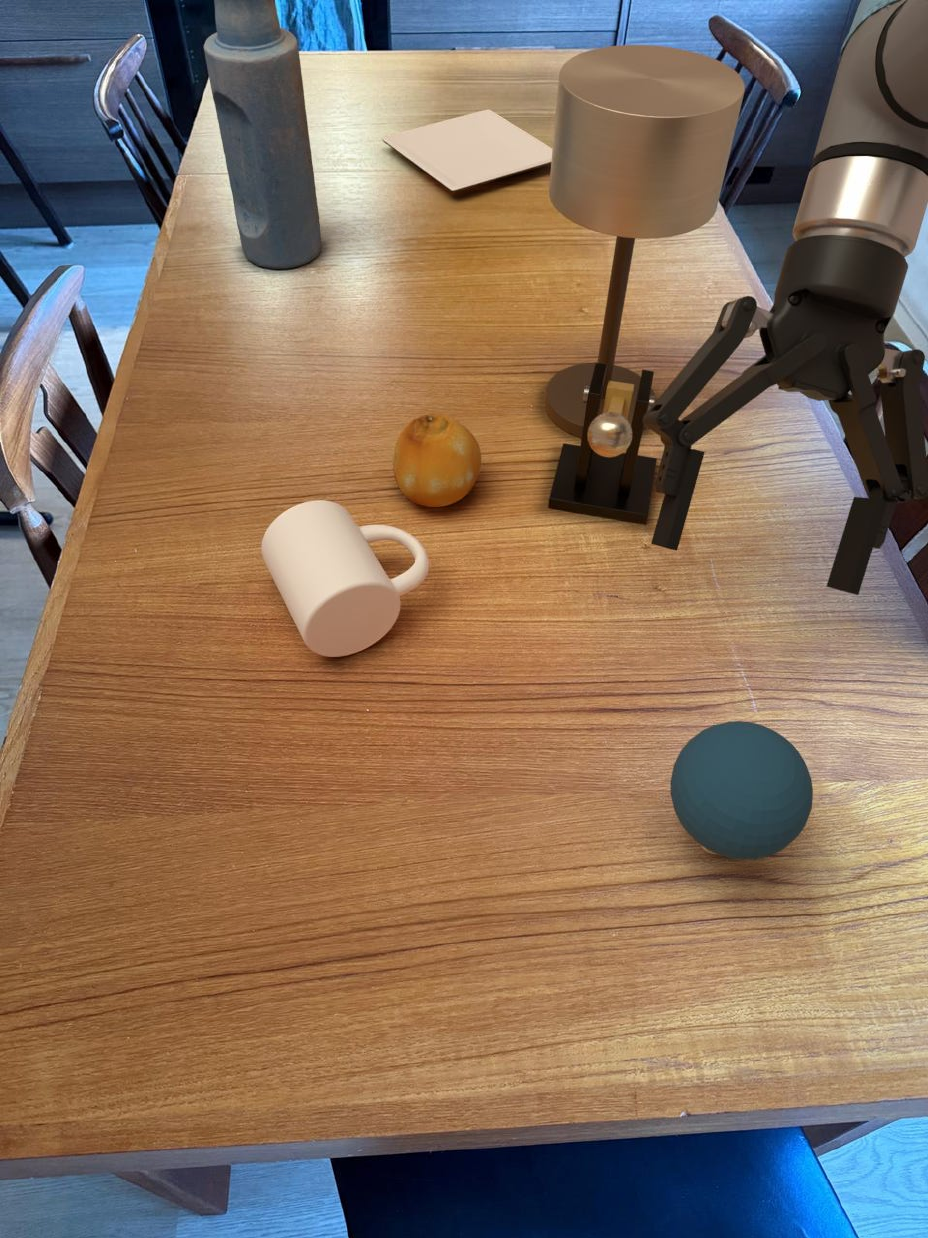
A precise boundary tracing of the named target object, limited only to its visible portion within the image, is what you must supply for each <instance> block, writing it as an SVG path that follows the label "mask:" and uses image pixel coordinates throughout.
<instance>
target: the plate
mask: <svg viewBox="0 0 928 1238" xmlns="http://www.w3.org/2000/svg"><path fill="white" fill-rule="evenodd" d="M381 141H382V142H383V143H384V144H386V145H387V146H388V147H390V148H391V149H393V151H395V152H397V153H398V154H399V155H401V156H402V157H403V158H405V160H407V161H409V162H410V163H412V164H413V165H414V166H416V167H417V168H418V169H420V170H421V171H422V172H423V173H424V174H426V175H428V176H429V177H431V178H432V179H433V180H434V181H436V182H437V183H439V184H440V185H442V186H443V187H444V188H445V189H447V190H448V191H449V192H451V193H458V192H461V191H464V190H468V189H472V188H475V187H479V186H482V185H485V184H488V183H492V182H495V181H498V180H501V179H506V178H508V177H511V176H514V175H518V174H522V173H525V172H529V171H531V170H535V169H538V168H542V167H545V166H548V165H551V161H552V150H553V147H551V146H549V145H547V144H546V143H544V142H542V141H541V140H540V139H537V138H536V137H534V136H533V135H531V134H529V133H528V132H526V131H525V130H523V129H521V128H520V127H519V126H516V125H515V124H513V122H511V121H509V120H507V119H505V118H504V117H502V116H500V115H499V114H497V113H496V112H494V111H492V110H491V109H484V110H480V111H475V112H471V113H468V114H464V115H461V116H457V117H453V118H449V119H445V120H441V121H438V122H433V123H430V124H425V125H422V126H419V127H414V128H411V129H407V130H403V131H400V132H395V133H392V134H388V135H385V136H383V137H381Z"/></svg>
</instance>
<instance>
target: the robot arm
mask: <svg viewBox="0 0 928 1238" xmlns="http://www.w3.org/2000/svg"><path fill="white" fill-rule="evenodd" d="M839 53H840V55H839V58H838V63H837V67H838V68H837V71H836V75H835V78H834V82H833V86H832V89H831V93H830V97H829V101H828V104H827V108H826V112H825V115H824V117H823V118H824V119H823V122H822V125H821V129H820V133H819V137H818V140H817V143H816V147H815V151H814V155H813V157H812V163H811V166H810V169H809V173H808V176H807V178H806V182H805V186H804V190H803V193H802V196H801V200H800V204H799V207H798V209H797V210H798V211H797V215H796V218H795V220H794V225H793V228H792V237H793V239H794V240H795V241H794V242H793V243H792V244H790V245H789V246H788V247H787V248H786V252H785V255H784V259H783V262H782V266H781V269H780V273H779V276H778V280H777V283H776V286H775V290H774V294H773V304H772V306H771V308H770V309H769V311H768V310H766V309H764V308H762V307H760V306H758V303H757V300H756V298H754V296H751V295H745V296H743V297H739V298H735V299H734V300H731V301H728V302H726V303H725V304H724V305H723V306H722V309H721V311H720V314H719V316H718V319H717V321H716V324H715V326H714V329H713V332H712V333H711V334H710V335H709V337H708V338H707V339H706V340H705V342H703V344H702V345H701V346H700V348H699V349H698V350H697V351H695V353H694V355H693V356H692V357H691V358H690V359H689V361H688V362H687V363H686V364H685V365H684V366H683V368H682V369H681V370H680V371H679V372H678V374H677V375H676V376H675V378H673V380H672V381H671V382H670V383H669V385H668V386H667V387H666V388H665V390H664V391H663V392H662V393H661V394H660V395H659V397H658V398H657V399H655V403H654V404H653V405H652V406H651V408H650V409H649V410H648V411H647V412H646V414H645V415H644V417H643V425H644V426H645V429H647V430H651V431H653V432H654V434H657V435H658V436H659V437H660V441H661V443H662V444H663V446H664V447H663V448H664V449H663V451H662V455H661V460H660V463H659V466H658V470H657V474H656V477H655V480H654V492H655V493H658V494H661V495H663V499H662V501H661V502H662V503H661V506H660V510H659V514H658V518H657V521H656V524H655V528H654V532H653V535H652V539H651V543H650V544H651V545H654V546H658V547H661V548H665V549H668V550H672V551H676V552H677V551H678V550H679V549H678V548H679V546H680V542H681V538H682V535H683V531H684V528H685V524H686V520H687V517H688V514H689V510H690V506H691V503H692V499H693V495H694V492H695V488H696V485H697V481H698V477H699V474H700V470H701V466H702V463H703V460H704V456H705V451H703V450H699V449H696V448H692V446H693V445H695V444H696V443H697V442H698V441H700V440H701V439H702V438H704V437H705V436H706V435H708V434H709V433H711V432H712V431H713V430H714V429H715V428H717V427H719V426H720V425H721V424H723V423H724V422H725V421H726V420H728V419H729V418H730V417H732V416H733V415H734V414H736V413H737V412H738V411H739V410H741V409H742V408H743V407H744V406H746V405H748V404H749V403H751V402H752V401H753V400H754V399H756V398H757V397H758V396H759V395H761V394H762V393H764V392H765V391H766V390H768V389H769V388H771V387H773V386H776V385H777V386H778V390H780V391H783V392H787V393H800V394H802V395H803V396H805V397H806V398H808V399H810V400H813V401H818V402H821V401H827V402H828V404H829V407H830V409H831V411H832V412H833V413H834V414H836V416H837V417H838V420H839V423H840V426H841V429H842V431H843V433H844V436H845V437H844V438H845V439H846V442H847V445H848V448H849V450H850V453H851V456H852V458H853V461H854V465H855V467H856V469H857V472H858V475H859V478H860V482H861V483H862V486H863V489H864V492H865V495H866V497H863V496H861V497H860V496H853V499H852V502H851V505H850V508H849V511H848V514H847V518H846V521H845V524H844V527H843V531H842V534H841V538H840V541H839V544H838V548H837V551H836V554H835V556H834V561H833V564H832V567H831V570H830V573H829V576H828V580H827V583H826V588H830V589H834V590H837V591H840V592H844V593H848V594H853V595H856V596H859V594H860V590H861V588H862V584H863V581H864V578H865V574H866V571H867V569H868V565H869V561H870V558H871V556H872V552H873V549H878V550H880V549H881V547H882V546H883V545H884V543H885V541H886V537H887V534H888V532H889V528H890V525H891V521H892V519H893V515H894V512H895V510H896V507H897V506H898V504H906V503H907V502H908V501H911V500H924V499H926V498H927V497H928V459H927V450H926V438H925V428H924V418H923V417H924V416H923V407H922V399H921V398H922V397H921V389H920V385H921V380H922V376H923V371H924V366H925V361H926V355H925V352H923V350H921V349H918V348H917V349H910V350H904V351H903V350H896V349H891V348H886V345H885V332H886V330H887V328H888V325H889V324H890V322H891V320H892V318H893V316H894V315H895V313H896V309H897V306H898V303H899V299H900V295H901V294H902V289H903V286H904V283H905V280H906V276H907V273H908V270H909V264H908V262H907V259H906V258H905V257H908V256H909V255H911V254H912V253H913V251H914V250H915V249H916V247H917V246H916V245H917V242H918V238H919V236H920V231H921V228H922V225H923V221H924V217H925V215H926V210H927V207H928V0H860V2H859V3H858V6H857V9H856V12H855V14H854V18H853V20H852V24H851V26H850V29H849V32H848V33H847V35H846V37H845V38H844V40H843V43H842V46H841V48H840V52H839ZM757 331H758V334H759V338H760V341H761V345H762V348H763V351H764V355H763V356H762V357H760V358H759V359H758V360H756V361H755V362H754V363H752V364H751V365H750V366H748V367H747V368H746V369H745V370H743V371H742V374H740V375H739V376H737V377H736V378H735V379H734V380H733V381H731V382H730V383H728V384H726V386H725V387H723V388H722V389H720V390H719V391H718V392H716V393H715V394H714V395H713V396H711V397H709V398H708V399H707V400H706V401H704V402H703V403H701V404H700V405H699V406H698V407H696V408H695V409H693V410H692V411H691V412H689V414H687V415H686V416H684V417H683V418H681V420H680V419H679V418H680V417H681V416H682V415H683V414H684V412H685V411H686V410H687V409H688V407H689V406H690V405H691V404H692V403H693V402H694V400H695V399H696V398H697V397H698V395H699V394H700V393H701V392H702V390H704V388H705V387H706V386H707V385H708V383H709V382H711V380H712V379H713V378H714V376H715V375H716V374H717V373H718V372H719V370H720V369H721V368H722V367H723V365H724V364H726V362H727V361H728V359H729V358H731V356H732V355H733V353H734V352H735V351H736V350H737V349H738V347H740V345H741V344H742V342H743V341H744V340H745V339H747V338H751V337H752V336H754V335H755V333H756V332H757ZM876 369H877V373H876V378H877V380H879V381H880V382H881V384H880V385H881V386H880V400H881V401H880V402H881V411H882V418H883V419H882V420H883V426H882V423H881V420H880V418H879V415H878V412H877V409H876V407H875V405H876V403H877V395H876V392H875V390H874V387H873V384H872V381H871V378H870V374H872V372H874V371H875V370H876ZM850 393H851V394H850ZM883 428H884V429H883Z"/></svg>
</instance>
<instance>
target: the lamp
mask: <svg viewBox="0 0 928 1238" xmlns="http://www.w3.org/2000/svg"><path fill="white" fill-rule="evenodd" d="M745 85H746V84H745V82H744V79H743V78H742V76H741V75H740V74H739V73H738V72H737V70H735V69H734V68H732V67H731V66H729V65H727V63H724V62H723V61H720V60H718V59H715V58H713V57H711V56H708V55H706V54H702V53H699V52H696V51H691V50H687V49H682V48H677V47H671V46H665V45H664V46H662V45H651V44H621V45H611V46H604V47H599V48H595V49H591V50H587V51H584V52H582V53H581V52H580V53H578V54H577V55H574V56H572V57H571V58H570V59H568V60H567V61H566V62H564V64H563V65H562V66H561V68H560V70H559V74H558V84H557V95H556V104H555V106H556V107H555V118H554V128H553V129H554V130H553V141H552V149H553V150H552V161H551V164H550V175H549V185H548V186H549V187H548V197H549V200H550V202H551V204H552V206H553V208H554V209H556V211H557V212H558V213H559V214H560V215H562V216H563V217H564V218H566V219H567V220H569V221H570V222H571V223H574V224H576V225H578V226H580V227H583V228H584V229H588V230H590V231H594V232H597V233H600V234H604V235H608V236H612V237H616V239H615V245H614V252H613V257H612V258H613V259H612V264H611V271H610V280H609V284H608V292H607V297H606V303H605V311H604V318H603V324H602V330H601V337H600V343H599V351H598V357H597V362H583V363H577V364H574V365H571V366H568V367H565V368H563V369H561V370H559V371H558V372H556V373H555V374H554V375H553V376H552V377H551V378H550V380H549V381H548V383H547V386H546V390H545V396H544V397H545V398H544V408H545V411H546V413H547V415H548V417H549V419H550V420H551V421H552V422H553V423H554V425H556V426H557V427H558V428H559V429H561V430H563V431H564V432H565V433H567V434H570V435H572V436H574V437H577V438H580V439H581V438H582V431H583V425H584V418H585V411H586V404H587V403H582V398H583V392H584V387H585V386H589V387H590V383H591V379H592V375H593V371H594V367H595V363H601V364H607V368H606V374H605V380H604V386H603V392H602V399H601V405H600V411H599V415H601V414H602V412H603V407H604V401H605V396H606V390H607V386H608V382H609V381H615V382H621V383H628V384H634V390H633V396H632V401H631V406H630V411H629V416H628V419H627V420H628V422H629V423H630V425H631V424H632V419H633V414H634V409H635V404H636V399H637V394H638V389H639V384H640V379H641V375H639V374H638V373H636V372H635V371H632V370H630V369H628V368H626V367H623V366H620V365H617V364H615V360H616V355H617V348H618V342H619V337H620V330H621V325H622V319H623V314H624V313H623V312H624V308H625V307H624V306H625V301H626V295H627V290H628V283H629V279H630V271H631V265H632V260H633V254H634V248H635V242H636V239H643V240H645V239H646V240H647V239H649V240H650V239H665V238H672V237H676V236H681V235H684V234H688V233H690V232H693V231H696V230H698V229H700V228H701V227H703V226H704V225H706V224H707V223H709V222H710V221H711V219H712V218H713V217H714V216H715V214H716V212H717V209H718V205H719V202H720V201H719V200H720V198H721V197H720V196H721V193H722V189H723V185H724V180H725V176H726V172H727V167H728V162H729V159H730V154H731V150H732V146H733V142H734V138H735V134H736V129H737V125H738V120H739V117H740V112H741V108H742V103H743V99H744V95H745V91H746V86H745ZM650 396H655V397H656V395H655V392H654V389H653V388H652V387H651V393H650ZM655 402H656V401H655ZM655 402H654V403H655ZM645 429H646V427H645V426H644V428H643V430H645Z"/></svg>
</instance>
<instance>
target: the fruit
mask: <svg viewBox="0 0 928 1238" xmlns="http://www.w3.org/2000/svg"><path fill="white" fill-rule="evenodd" d="M481 465H482V452H481V447H480V445H479V443H478V440H477V439H476V437H475V436H474V435H473V433H472V432H471V431H470V430H469V429H468V428H467V427H466V426H465V425H464V424H463V423H461V422H460V421H459V420H457V419H456V418H454V417H452V416H449V415H447V414H446V415H445V414H442V413H428V414H425V415H422V416H420V417H419V416H418V417H417V418H415V419H413V420H411V421H410V422H409V423H408V424H407V425H406V427H405V428H404V429H403V430H402V431H401V432H400V434H399V436H398V438H397V440H396V442H395V445H394V449H393V455H392V469H393V476H394V479H395V482H396V485H397V487H398V489H399V490H400V492H401V493H402V494H403V496H405V497H406V498H407V499H408V500H409V501H411V502H413V503H415V504H417V505H419V506H423V507H429V508H441V507H447V506H450V505H452V504H455V503H457V502H459V501H460V500H462V499H463V498H465V496H467V495H468V494H469V493H470V491H471V490H472V489H473V487H474V486H475V484H476V482H477V480H478V477H479V475H480V473H481Z"/></svg>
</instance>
